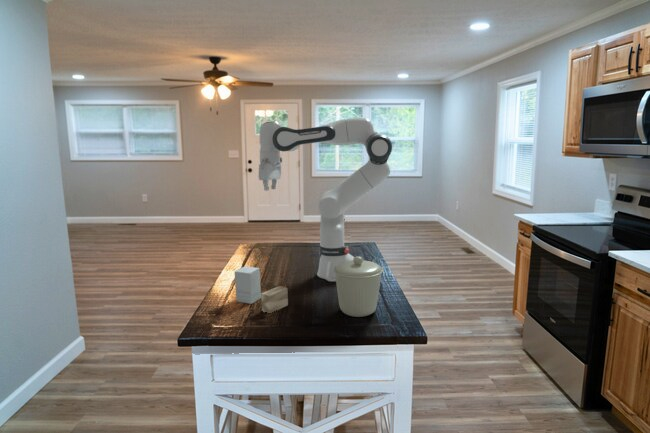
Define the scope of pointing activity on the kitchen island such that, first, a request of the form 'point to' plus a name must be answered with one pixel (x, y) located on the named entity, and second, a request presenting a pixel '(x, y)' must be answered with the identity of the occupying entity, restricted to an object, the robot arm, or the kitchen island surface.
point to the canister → (358, 286)
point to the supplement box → (247, 284)
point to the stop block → (274, 299)
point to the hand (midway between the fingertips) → (270, 189)
